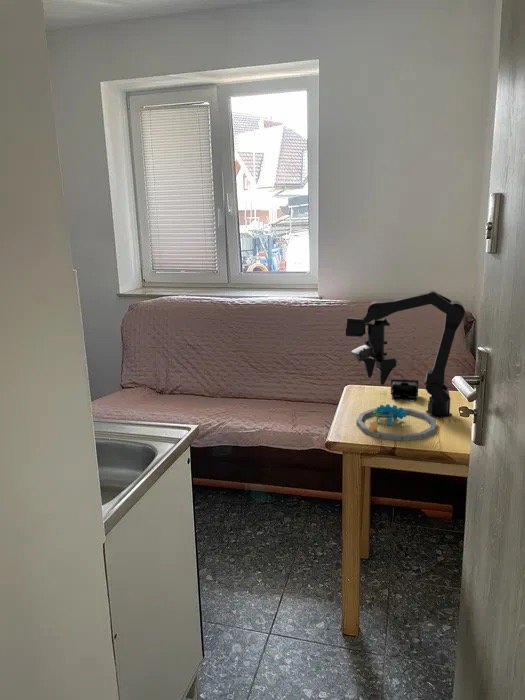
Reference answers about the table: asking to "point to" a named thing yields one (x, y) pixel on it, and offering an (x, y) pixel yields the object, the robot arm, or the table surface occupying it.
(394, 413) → the blue spiky figure
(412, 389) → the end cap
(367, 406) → the table surface
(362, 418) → the ring
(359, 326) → the robot arm
